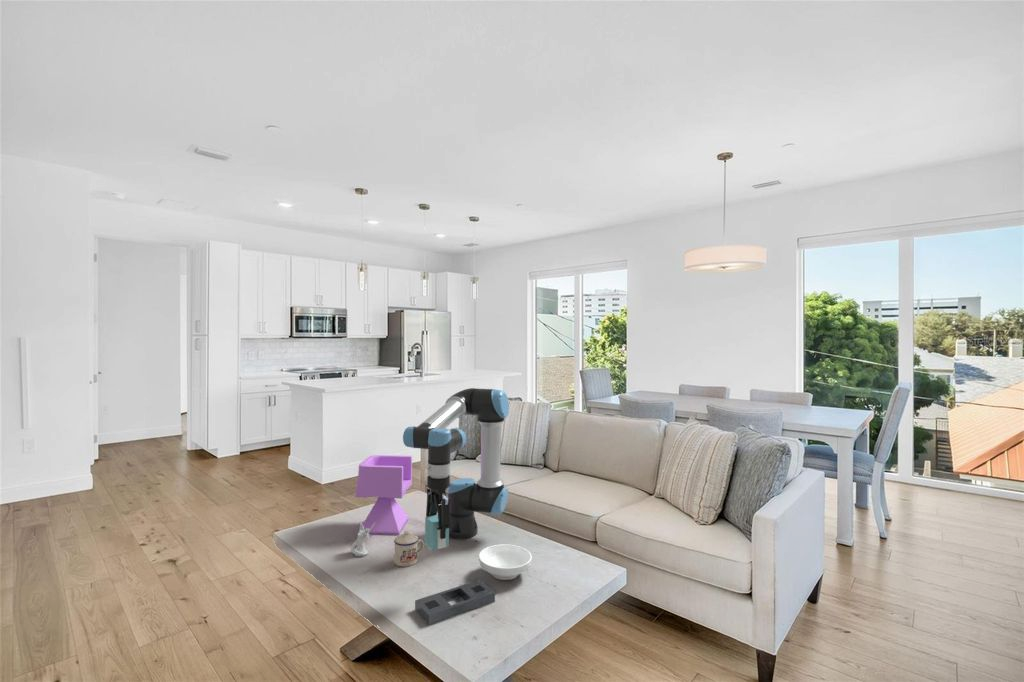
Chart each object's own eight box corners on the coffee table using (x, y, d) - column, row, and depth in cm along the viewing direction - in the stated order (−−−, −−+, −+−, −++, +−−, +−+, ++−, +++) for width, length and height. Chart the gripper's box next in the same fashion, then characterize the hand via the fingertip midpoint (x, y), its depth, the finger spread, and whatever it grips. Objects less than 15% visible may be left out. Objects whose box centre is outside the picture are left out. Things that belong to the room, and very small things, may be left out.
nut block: (440, 539, 168) (441, 513, 168) (448, 546, 163) (449, 519, 163) (424, 543, 165) (425, 516, 165) (432, 550, 160) (432, 522, 160)
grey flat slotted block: (479, 588, 169) (479, 579, 169) (494, 601, 161) (495, 592, 161) (414, 609, 155) (415, 600, 155) (428, 625, 147) (428, 615, 147)
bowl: (537, 567, 185) (538, 549, 185) (521, 593, 167) (522, 572, 167) (490, 558, 192) (490, 540, 192) (469, 582, 173) (470, 562, 173)
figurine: (357, 560, 189) (357, 529, 189) (346, 553, 194) (347, 523, 194) (381, 550, 197) (381, 521, 197) (370, 545, 202) (370, 516, 202)
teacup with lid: (399, 569, 181) (400, 538, 181) (390, 560, 189) (390, 530, 188) (428, 561, 188) (429, 531, 188) (418, 552, 196) (419, 523, 195)
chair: (400, 536, 211) (402, 467, 210) (355, 535, 211) (356, 466, 211) (411, 518, 231) (412, 455, 230) (369, 517, 231) (370, 454, 231)
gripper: (417, 469, 170) (415, 536, 170) (440, 484, 154) (438, 557, 154) (436, 467, 174) (435, 531, 174) (461, 481, 158) (460, 552, 158)
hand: (436, 543), depth 164 cm, fingers closed on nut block, 6 cm apart
